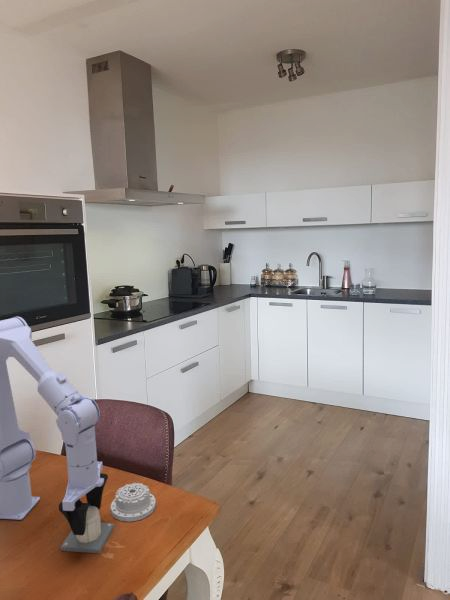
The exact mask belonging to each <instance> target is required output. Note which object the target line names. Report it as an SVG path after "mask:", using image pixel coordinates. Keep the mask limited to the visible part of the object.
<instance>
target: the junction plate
mask: <svg viewBox="0 0 450 600" xmlns="http://www.w3.org/2000/svg"><path fill="white" fill-rule="evenodd" d="M100 524H101V534H100V536H99V537H98V538H97V539H96V540H94V541H92V542H88V543H84V542H79V541H78V539H77V538H76V535H74V534H73V532H72V530H71V531H70V532H69V534H68V536H67V537H66V539H64V541H63V543H62V544H61V545H60V551H64V552H74V553H75V552H77V553H78V552H79V553H87V554H88V553H91V554H100V553H101V552H102V549H103V548H104V546H105V544H106V543H107V541H108V538H109V537H110V535H111V533H112V532H113V530H114V528H115V523H113V522H100Z"/></svg>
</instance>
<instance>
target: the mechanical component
mask: <svg viewBox="0 0 450 600" xmlns="http://www.w3.org/2000/svg"><path fill="white" fill-rule="evenodd" d="M150 492H151V491H150V489H149V485H145V484H143V482H142V483H140V482H137V483H136V482H133V483H130V484H128V483H126V484H125V485H124V486H122V487H119V488H118V489H117V490H116V492H115V498H114V499H113V500H112V502H111V503H110V512H111V515H112V517H113V518H115V520H117V521H121V522H129V523H130V522H131V523H132V522H137V521H140V520H143V519H145V518H147V517H148V516H149V517H150V515H151V514H152V513H153V512H154V511H155V509H156V507H157V503H156V497H155V496H154V495H153V494H152V493H150Z"/></svg>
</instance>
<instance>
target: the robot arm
mask: <svg viewBox="0 0 450 600" xmlns="http://www.w3.org/2000/svg"><path fill="white" fill-rule="evenodd" d="M32 336H33V334H32V328H31V327H30V326H29V325H28V323H27V321H26V320H25V319H24V318H23V317H21V316H14V317H11V318H8V319H3V320H2V319H1V320H0V519H1V520H2V519H3V520H21V521H22V520H23V519H24V518H25V517H26V516H27V514H29V513H30V511H31V510H32V509H33V508H34V506H36V505H37V504H38V502H39V501H40V500H41V498H40V496H32V495H33V494H32V486H31V480H30V479H31V478H30V476H31V475H30V468H32V462H33V461H34V460H35V459H36V454H37V453H36V452H37V451H36V446H35V444H34V443H33V441H32V438H31V434H30V432H29V431H27V430H25V429H23V428H19V424H18V422H19V421H18V418H17V413H16V408H15V403H14V397H13V391H12V388H11V387H12V386H11V381H10V376H9V371H8V365H7V361H8V359H9V358H14V359H15V360H16V361H17V362H18V363H19V364H20V365H21V366H22V367H23V368H24V369H25V370H26V372H28V374H30V375H31V377H32V378H33V379H34V380H35V381H36V382H37V389H36V390H37V392H38V394H39V395H40V397H42V399H43V400H44V401H45V402H46V403H47V405H48V406H49V407H50V409H51V410H52V411H53V412H54V414H55V415H56V416H57V418H56V419H55V423H56V426H57V428H58V430H59V432H60V433H61V440H63V443H64V444H65V445H64V446H65V454H66V466H67V479H68V482H67V485H66V491H65V495H64V498H63V499H62V500H61V501H60V503H59V504H58V510H59V513H60V514H62V515H63V516H64V517H65V519H66V520H67V523H68V524H69V527H70V530H71V531H72V532H73V534H74V535H84V533H85V528H86V514H87V510H88V507H89V506H95V507H97V508H98V509H99V511H100V509H101V506H102V498H103V493H104V489H105V486H106V482H107V481H108V479H109V476H108V474H107V473H102V471H103V470H104V469H103V466H104V465H103V461H98V455H97V454H98V453H97V441H96V440H97V439H96V429H95V426H96V424H97V423H98V422H99V421H100V419H101V418H100V417H101V411H100V408H99V406H98V403H97V402H96V401H95V399H93V397H90V396H86V395H85V394H84V393H80V392H78V389H76V387H74V385H73V384H72V383H71V382H70V380H69V379H68V378H67V377H66V376H65V375H64V373H62V372H60V371H54V370H53V369H52V367H51V366H50V365H49V363H48V362H47V361H46V359H45V357H44V356H43V354H42V353H41V352H40V350H39V349H38V348H37V346H36V344H35V343H34V342H33V339H32V338H33V337H32ZM82 497H86V502H83V501H82V500H81V498H82Z"/></svg>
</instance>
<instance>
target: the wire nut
mask: <svg viewBox="0 0 450 600" xmlns="http://www.w3.org/2000/svg"><path fill="white" fill-rule="evenodd" d="M100 523H101V516H100V510H99V509H98V508H97V507H95V506H89V507H88V510H87V514H86V528H85V533H84V535H76V538H77V539H78V541H79V542H84V543H88V542H92V541H94V540H96V539H97V538H98V537H99V536H100V534H101V524H100Z"/></svg>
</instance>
